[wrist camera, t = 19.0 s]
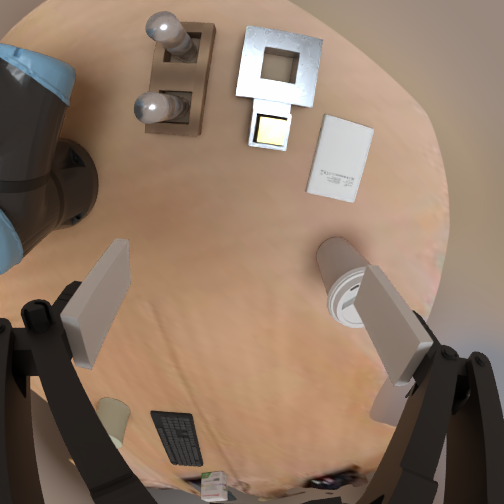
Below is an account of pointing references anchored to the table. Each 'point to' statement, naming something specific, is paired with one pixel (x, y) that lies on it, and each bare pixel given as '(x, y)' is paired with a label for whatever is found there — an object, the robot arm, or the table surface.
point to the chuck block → (274, 92)
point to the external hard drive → (339, 159)
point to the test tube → (160, 107)
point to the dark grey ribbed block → (178, 437)
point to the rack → (184, 80)
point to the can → (113, 419)
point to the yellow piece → (270, 130)
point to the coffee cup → (341, 279)
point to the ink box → (214, 486)
